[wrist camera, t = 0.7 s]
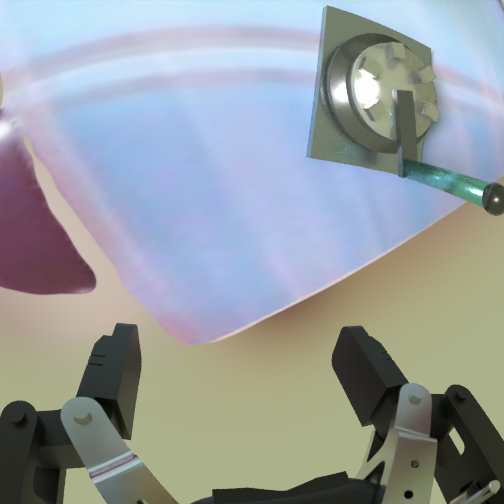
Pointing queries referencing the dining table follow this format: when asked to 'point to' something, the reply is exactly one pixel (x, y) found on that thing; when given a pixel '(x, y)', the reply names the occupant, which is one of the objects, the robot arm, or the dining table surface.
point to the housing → (335, 97)
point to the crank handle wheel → (408, 117)
